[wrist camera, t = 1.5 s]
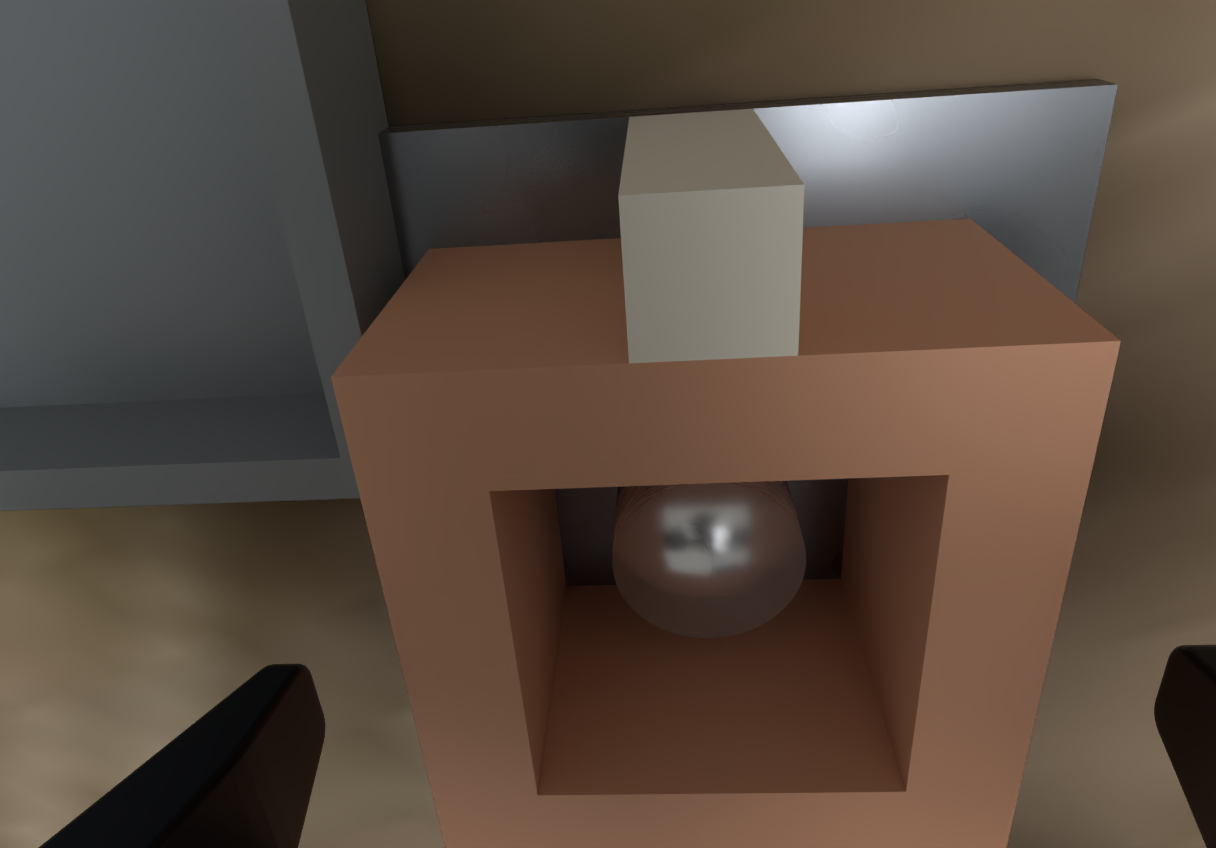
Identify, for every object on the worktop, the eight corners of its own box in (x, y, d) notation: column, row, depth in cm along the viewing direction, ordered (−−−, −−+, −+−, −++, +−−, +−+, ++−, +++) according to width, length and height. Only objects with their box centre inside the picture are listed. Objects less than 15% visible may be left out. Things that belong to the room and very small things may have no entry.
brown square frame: (916, 639, 14) (1003, 862, 11) (498, 648, 15) (449, 864, 11) (986, 93, 10) (1161, 163, 7) (409, 131, 11) (292, 215, 7)
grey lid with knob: (987, 682, 15) (1054, 826, 13) (432, 692, 16) (391, 831, 13) (1099, 78, 11) (1239, 117, 8) (306, 132, 11) (206, 182, 9)
